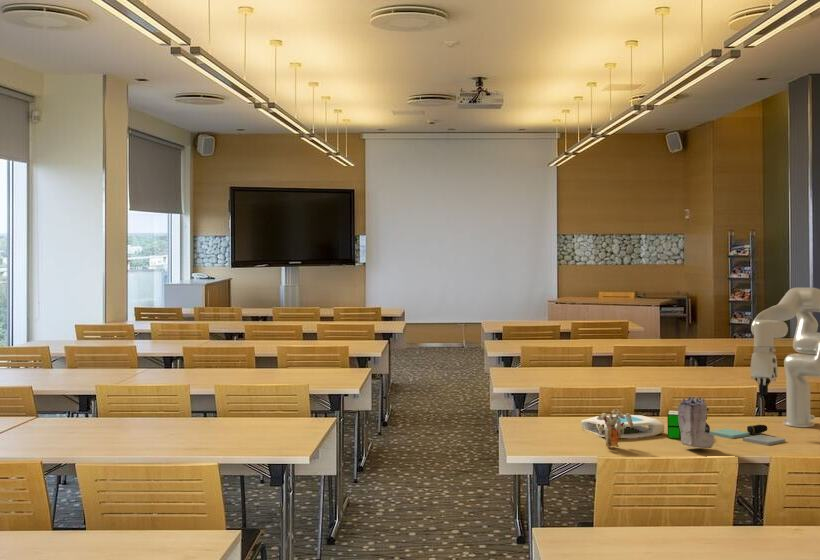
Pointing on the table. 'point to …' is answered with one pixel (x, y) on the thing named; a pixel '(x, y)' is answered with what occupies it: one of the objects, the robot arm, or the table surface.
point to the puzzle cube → (673, 425)
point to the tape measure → (756, 429)
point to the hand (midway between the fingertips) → (763, 394)
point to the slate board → (764, 439)
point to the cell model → (694, 423)
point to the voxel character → (613, 427)
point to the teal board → (729, 433)
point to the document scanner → (638, 424)
